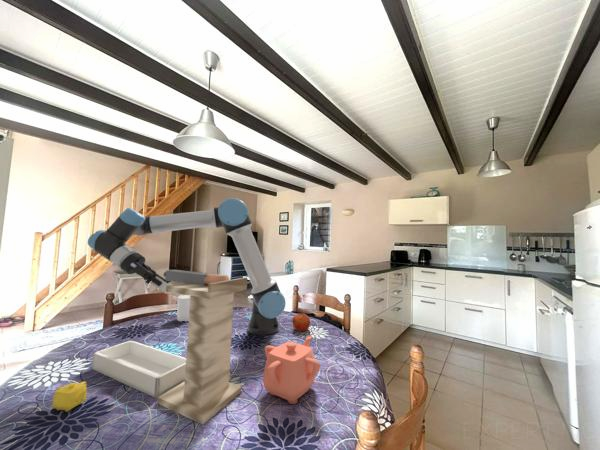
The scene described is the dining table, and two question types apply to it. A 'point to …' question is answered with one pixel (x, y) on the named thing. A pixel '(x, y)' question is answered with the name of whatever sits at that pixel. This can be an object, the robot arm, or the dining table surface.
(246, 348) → the dining table surface
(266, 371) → the teapot
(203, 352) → the wooden pedestal stand
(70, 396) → the toy block
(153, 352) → the tray
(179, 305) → the candle holder
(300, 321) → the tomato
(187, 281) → the grey long square-ended piece
